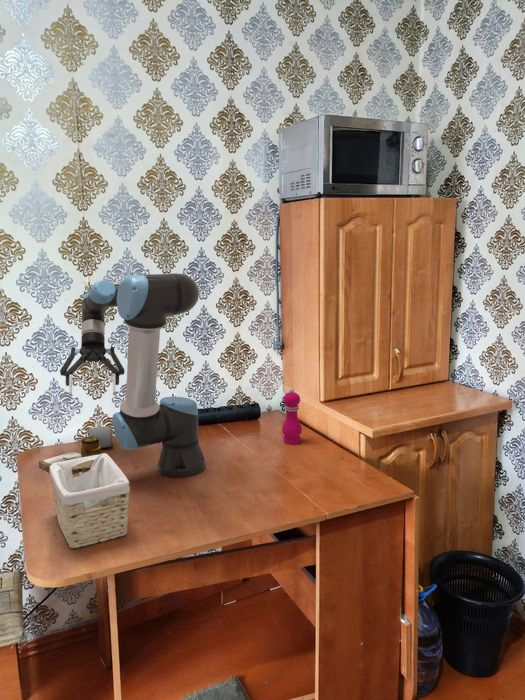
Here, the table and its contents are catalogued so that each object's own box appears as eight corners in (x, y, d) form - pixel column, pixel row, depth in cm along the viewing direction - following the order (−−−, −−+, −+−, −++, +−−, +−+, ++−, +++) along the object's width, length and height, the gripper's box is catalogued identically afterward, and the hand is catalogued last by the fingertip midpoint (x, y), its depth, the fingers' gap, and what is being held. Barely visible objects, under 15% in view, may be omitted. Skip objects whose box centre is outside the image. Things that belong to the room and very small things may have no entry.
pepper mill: (283, 437, 210) (282, 385, 206) (302, 438, 209) (302, 385, 205) (281, 444, 203) (280, 390, 199) (301, 445, 202) (301, 391, 198)
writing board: (97, 465, 186) (97, 459, 186) (61, 478, 177) (60, 471, 176) (75, 455, 195) (74, 449, 195) (39, 466, 186) (38, 460, 185)
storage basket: (51, 513, 154) (47, 462, 151) (111, 499, 161) (108, 450, 159) (67, 554, 133) (62, 496, 130) (134, 537, 141) (131, 481, 138)
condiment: (102, 469, 183) (99, 433, 181) (107, 478, 176) (104, 441, 174) (78, 473, 180) (75, 437, 178) (82, 483, 173) (79, 445, 171)
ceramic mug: (114, 449, 201) (112, 428, 199) (90, 452, 198) (88, 431, 197) (111, 440, 210) (110, 420, 209) (88, 443, 208) (86, 423, 206)
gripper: (130, 340, 198) (131, 397, 189) (55, 340, 191) (52, 399, 183) (131, 330, 191) (132, 389, 182) (52, 330, 185) (50, 390, 176)
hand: (92, 394), depth 182 cm, fingers open, 13 cm apart
